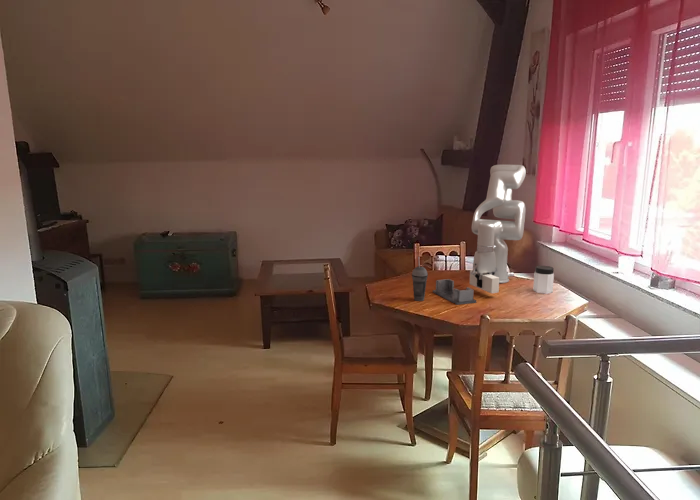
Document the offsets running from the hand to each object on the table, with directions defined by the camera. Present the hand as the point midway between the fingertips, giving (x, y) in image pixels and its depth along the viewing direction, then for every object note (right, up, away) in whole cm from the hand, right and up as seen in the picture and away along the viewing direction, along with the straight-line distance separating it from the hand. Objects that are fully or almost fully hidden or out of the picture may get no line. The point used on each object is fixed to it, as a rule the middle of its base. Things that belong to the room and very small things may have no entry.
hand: (483, 286), depth 251 cm
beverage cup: (-32, -6, -9) cm, 34 cm away
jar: (+30, -3, +5) cm, 30 cm away
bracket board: (-15, -5, -5) cm, 17 cm away
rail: (0, -1, 0) cm, 1 cm away
